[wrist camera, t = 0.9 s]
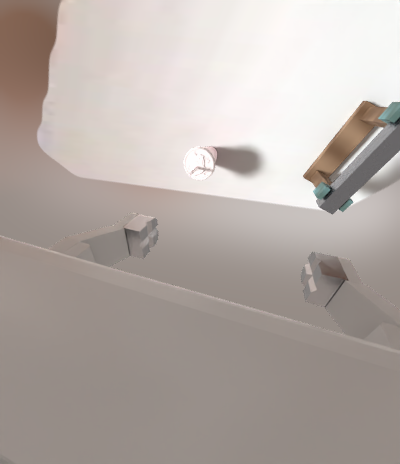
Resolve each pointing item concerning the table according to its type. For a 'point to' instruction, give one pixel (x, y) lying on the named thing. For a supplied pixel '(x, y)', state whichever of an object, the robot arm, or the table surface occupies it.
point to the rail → (363, 167)
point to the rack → (348, 144)
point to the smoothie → (200, 162)
